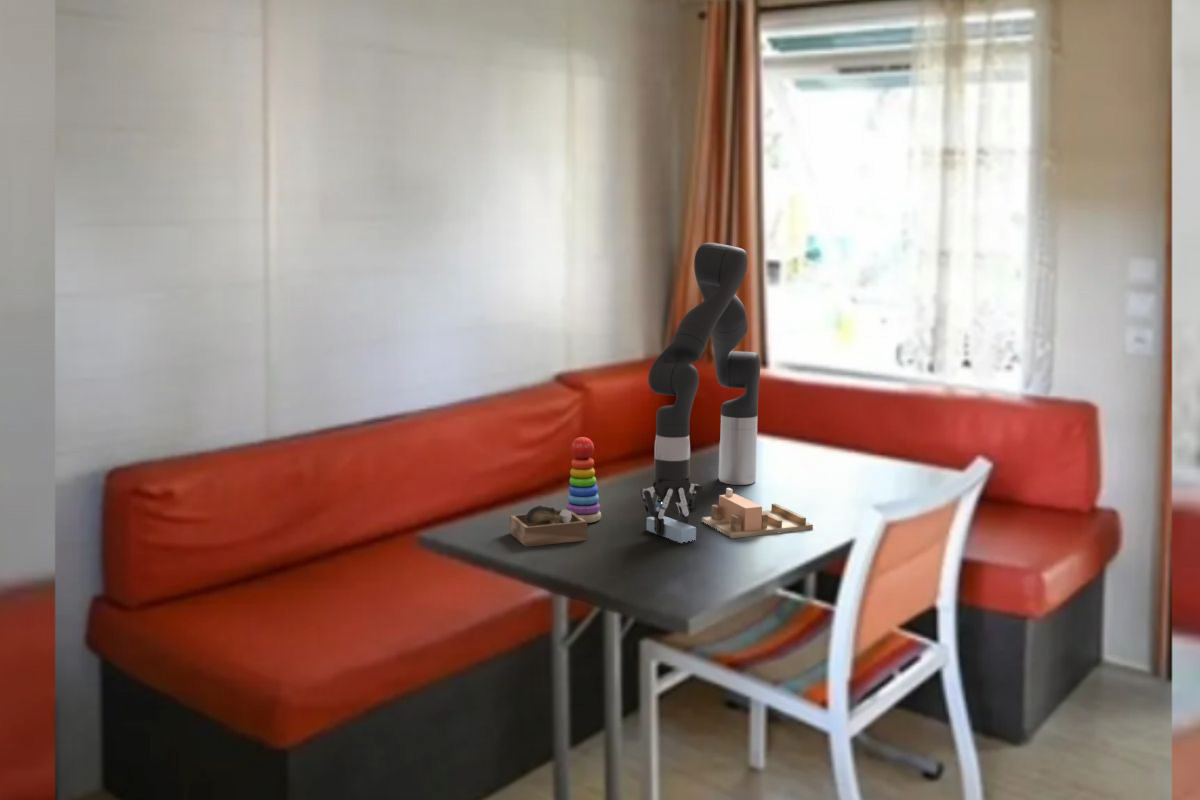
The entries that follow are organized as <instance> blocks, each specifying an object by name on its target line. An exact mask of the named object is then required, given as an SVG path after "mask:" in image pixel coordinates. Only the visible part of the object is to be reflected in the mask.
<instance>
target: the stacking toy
mask: <svg viewBox="0 0 1200 800" xmlns="http://www.w3.org/2000/svg"><path fill="white" fill-rule="evenodd" d="M570 448H571V449H570V450H571V453H572V455H573V456H574V458H573V459H572V460H571V466H572V468H571V469H570V472H569V473H570V478H569V481H568V482H569V484H570V485H569V487H568V492H569V494H568V496H567V501H568V502H567V504H566V510H571V511H572V512H574V513H575V514H577V515H578V516H580V517H581V518H583V519H584V520H585V521H587V524H590V523H591V524H592V523H595V522H598V521H599V520H600V519H601V518H602V513H601V511H600V509H601V505H600V503H599V500H600V496H599V494H598V492H599V487H598V485H597V477H596V476H595V474H596V470H595V469H594V466H595V461H594V459H593V458H591V456H592V455H593V454H594V451H595V446H594V443H593V441H592V440H591V439H590V438H588V437H585V436H580V437H577V438H575V439H574V440H573V441H572V443H571V446H570Z"/></svg>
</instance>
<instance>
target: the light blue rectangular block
mask: <svg viewBox="0 0 1200 800" xmlns="http://www.w3.org/2000/svg"><path fill="white" fill-rule="evenodd" d="M663 519H664V535H662V536H661V537H663V538H667V539H668V538H669V540H672V541H674V542H676V541H677V542H676V543H680V544H684V543H683V542H685V543H689V542H688V541H690V542H695V541H696V540H697V539H696V538H697V527H696V526H693V525H691V524H689V523H688V524H685V523H682V522H680V521H678V519H674V518H671V517H668V516H665V515H663ZM646 531H648V532H650V533H653V534H655V535H658V534H657V533H656V532H655V530H654V517H651V516H649V517H646ZM692 540H693V541H692ZM694 540H695V541H694Z"/></svg>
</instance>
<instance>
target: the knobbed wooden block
mask: <svg viewBox="0 0 1200 800" xmlns="http://www.w3.org/2000/svg"><path fill="white" fill-rule="evenodd" d="M718 506H720V507H722V510H721V519H723V520H725V521H727V522H729V523H731V515H738V516H740V517H741V529H742V530H744V531H749V530H758V529H761V525H762V511H763V506H762V505H760V504H758V503H756V502H753V501H752V500H749V499H747V498H745V497H743V496H741V495H738V494H737V493H734V490H733V488H730V487H727V488H725V494H719V495H718Z"/></svg>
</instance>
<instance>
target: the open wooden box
mask: <svg viewBox="0 0 1200 800" xmlns="http://www.w3.org/2000/svg"><path fill="white" fill-rule="evenodd" d="M562 510H563V509H560V510H557V515H559V514H560V512H561V511H562ZM568 511H570V512H571V514H572V518H571V520H570V522H569V523H559V524H549V525H545V524H546V523H528V522H527V520H526V518H525V517H526V516H527V513H520V514H519V513H518V514H510V515H509V534H510V535H511V536H512V537H514V538H515V539H516V540H517V541H518V542H519V543H521V544H522V545H523V546H524V547H527V548H529V547H536V546H538V547H539V546H544V545H545V546H546V545H554V544H555V545H556V544H563V543H571V542H572V543H574V542H583V541H588V523H587V521H585V520H584V519H583V518H581V517H580V516H578V515H577V514H575V513H574V512H572V511H571V510H568Z"/></svg>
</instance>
